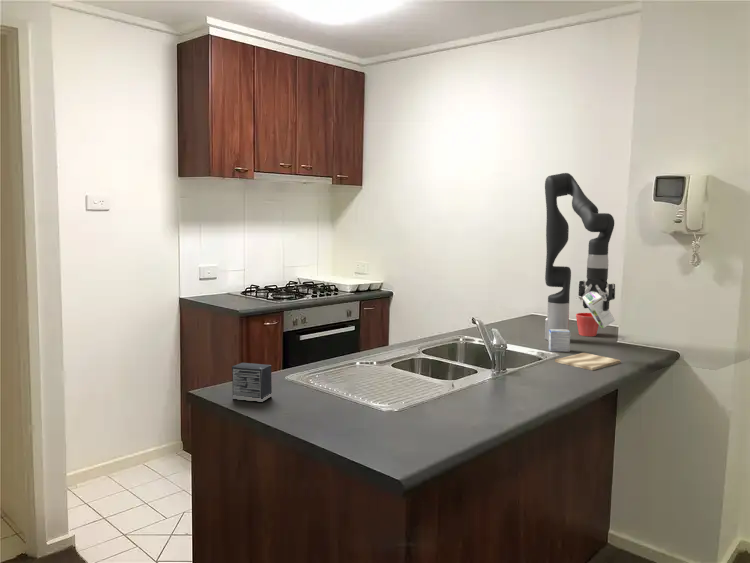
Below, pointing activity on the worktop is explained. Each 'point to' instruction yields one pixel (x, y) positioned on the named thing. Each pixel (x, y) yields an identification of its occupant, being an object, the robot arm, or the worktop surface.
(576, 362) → the birch board
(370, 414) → the worktop surface
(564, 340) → the medicine box
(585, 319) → the flower pot
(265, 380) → the small box
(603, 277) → the robot arm
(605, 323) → the syrup box
